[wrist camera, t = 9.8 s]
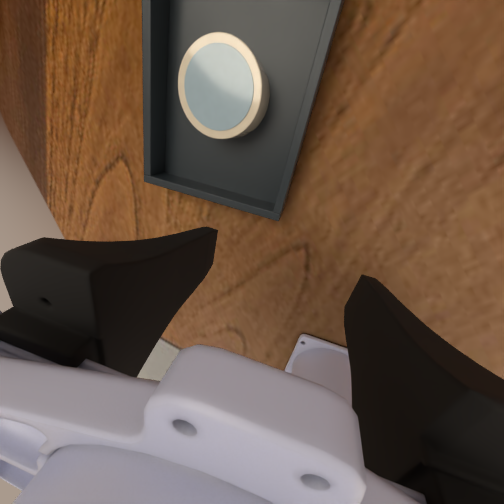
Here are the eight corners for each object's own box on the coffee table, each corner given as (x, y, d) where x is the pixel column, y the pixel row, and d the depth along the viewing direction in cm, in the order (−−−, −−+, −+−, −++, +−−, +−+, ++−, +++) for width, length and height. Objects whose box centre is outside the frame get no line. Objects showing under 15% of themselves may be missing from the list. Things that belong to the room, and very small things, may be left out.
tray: (282, 211, 20) (278, 221, 18) (161, 176, 21) (143, 181, 19) (353, -30, 13) (359, -62, 11) (167, -62, 14) (140, -95, 12)
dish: (259, 145, 18) (251, 148, 15) (192, 128, 18) (174, 128, 16) (279, 54, 15) (272, 41, 13) (200, 37, 16) (179, 22, 13)
